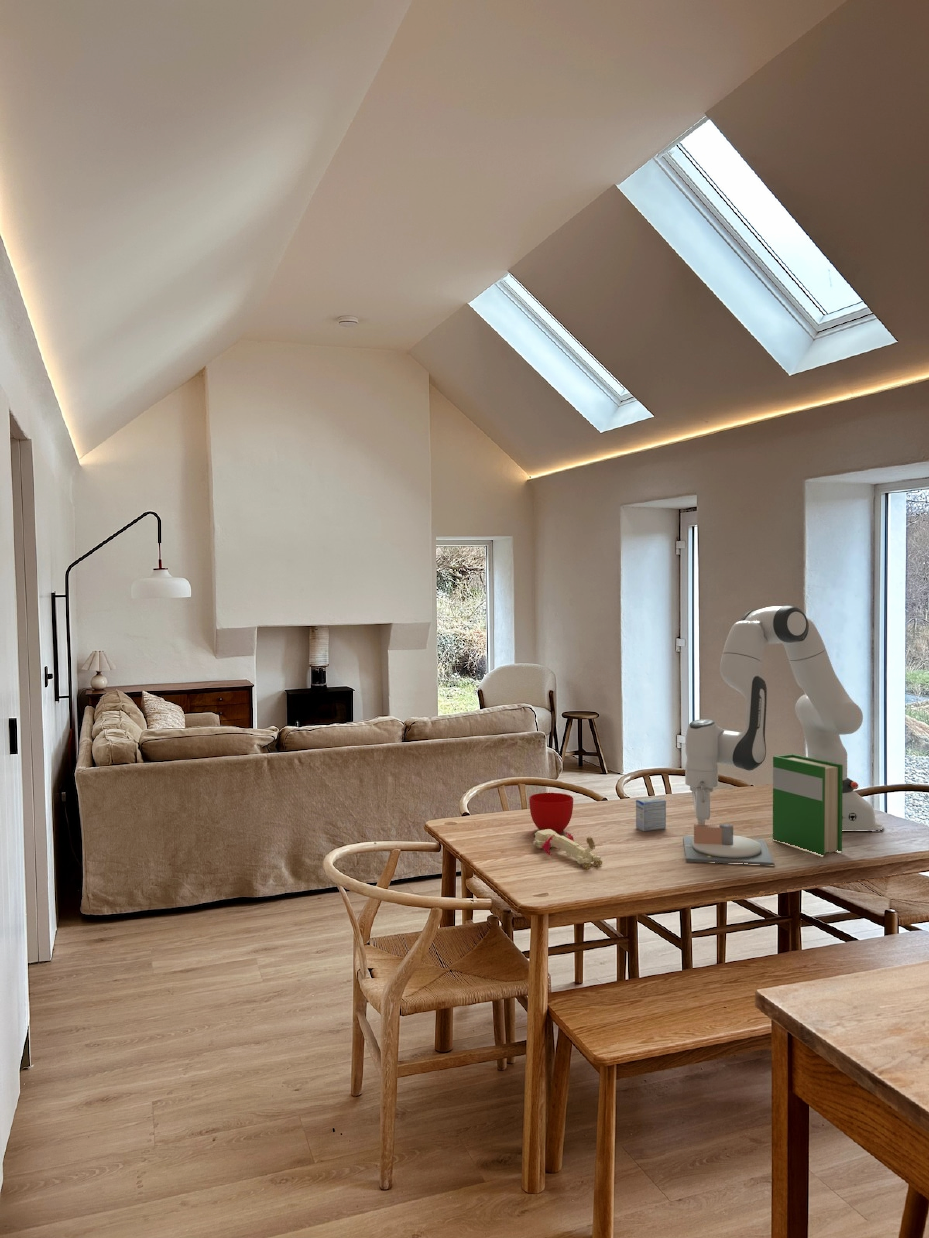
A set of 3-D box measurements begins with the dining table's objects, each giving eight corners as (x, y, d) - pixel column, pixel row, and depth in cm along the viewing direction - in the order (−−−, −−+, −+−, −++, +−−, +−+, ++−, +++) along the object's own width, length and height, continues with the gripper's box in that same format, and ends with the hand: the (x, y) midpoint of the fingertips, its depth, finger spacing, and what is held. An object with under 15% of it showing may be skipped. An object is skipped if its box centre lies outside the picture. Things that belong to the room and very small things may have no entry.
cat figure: (608, 869, 238) (551, 839, 259) (609, 837, 237) (553, 809, 258) (577, 876, 233) (522, 844, 254) (579, 843, 232) (524, 813, 253)
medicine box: (657, 825, 276) (657, 796, 275) (666, 828, 272) (666, 800, 271) (635, 828, 273) (635, 799, 272) (643, 831, 269) (643, 802, 268)
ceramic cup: (572, 822, 280) (572, 789, 280) (573, 837, 263) (573, 803, 263) (530, 821, 281) (530, 789, 281) (528, 836, 264) (528, 802, 264)
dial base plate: (763, 842, 256) (763, 838, 256) (774, 866, 235) (774, 861, 235) (683, 838, 261) (683, 834, 261) (686, 862, 239) (686, 857, 239)
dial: (757, 840, 255) (757, 818, 254) (765, 859, 237) (765, 836, 237) (690, 837, 258) (690, 815, 258) (693, 855, 241) (693, 833, 240)
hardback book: (841, 853, 246) (842, 764, 245) (821, 857, 243) (822, 767, 242) (792, 837, 262) (792, 753, 261) (772, 840, 258) (773, 756, 258)
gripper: (715, 786, 244) (715, 838, 244) (711, 771, 264) (710, 819, 264) (691, 785, 245) (691, 837, 246) (688, 770, 265) (688, 818, 266)
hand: (701, 827), depth 255 cm, fingers closed
